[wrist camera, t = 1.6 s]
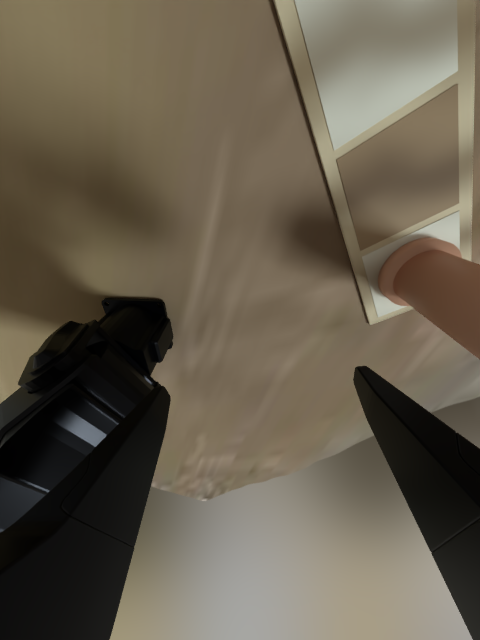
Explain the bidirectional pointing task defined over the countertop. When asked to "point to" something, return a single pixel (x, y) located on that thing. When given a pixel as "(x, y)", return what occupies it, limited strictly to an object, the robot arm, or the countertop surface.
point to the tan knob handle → (436, 287)
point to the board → (389, 122)
